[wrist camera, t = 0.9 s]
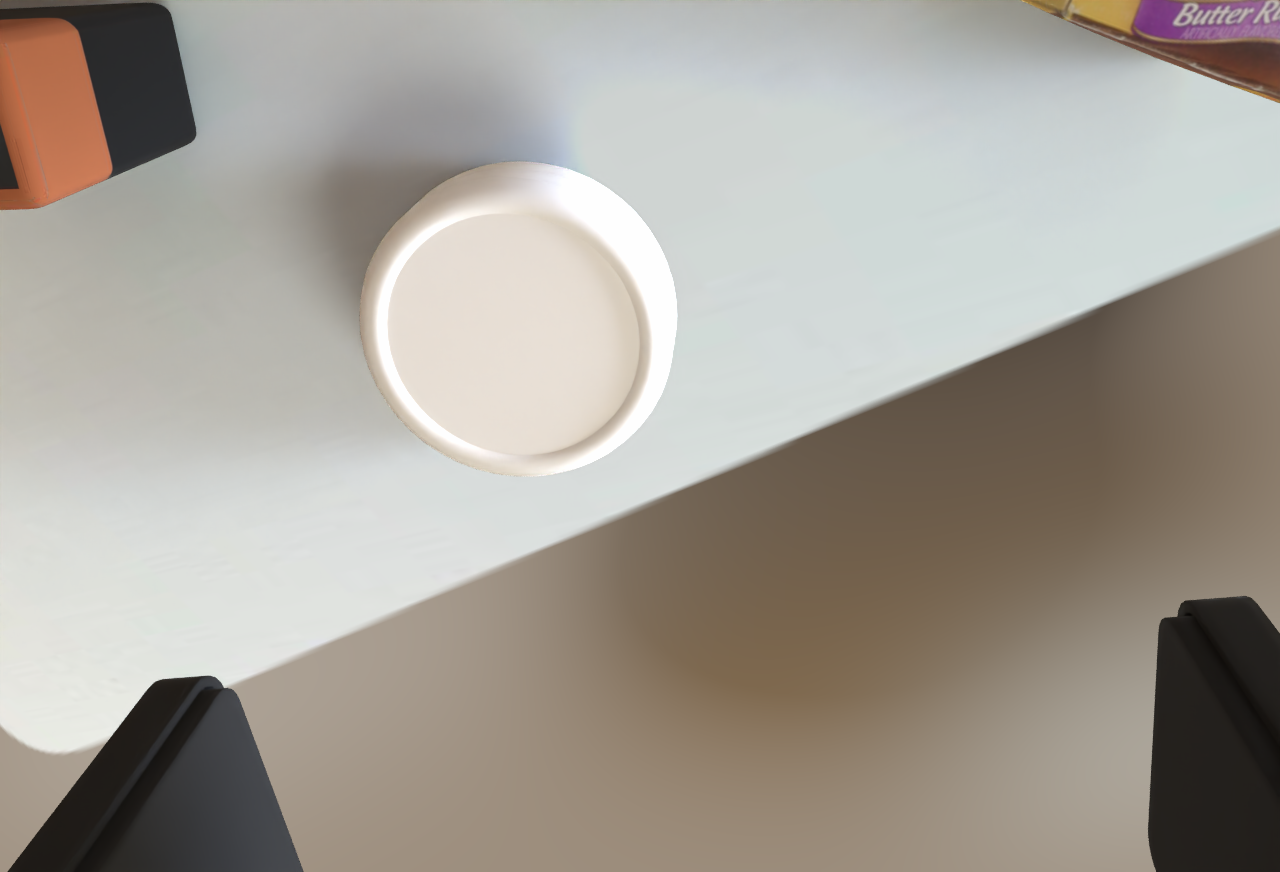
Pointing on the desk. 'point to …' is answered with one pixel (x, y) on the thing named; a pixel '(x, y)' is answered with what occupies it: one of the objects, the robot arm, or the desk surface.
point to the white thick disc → (519, 319)
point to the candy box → (1191, 35)
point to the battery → (86, 97)
